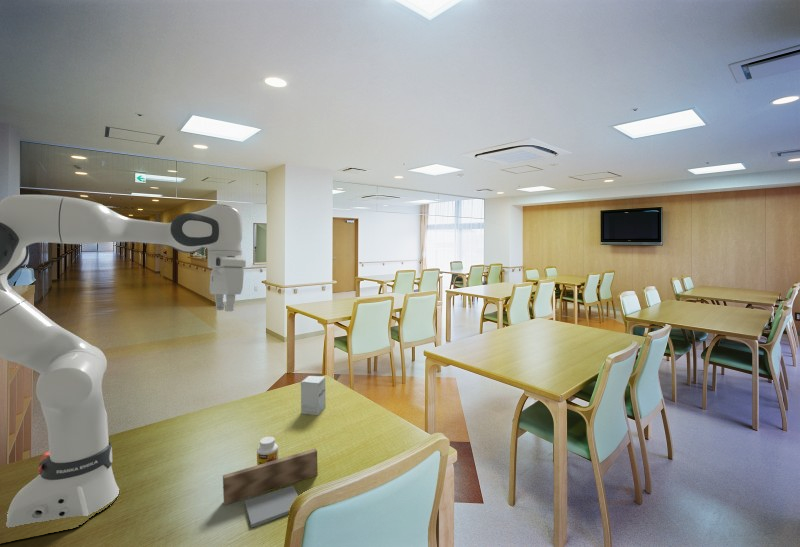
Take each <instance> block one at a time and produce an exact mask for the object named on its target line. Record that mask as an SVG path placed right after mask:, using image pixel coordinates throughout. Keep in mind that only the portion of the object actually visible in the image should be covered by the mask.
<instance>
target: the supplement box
mask: <svg viewBox="0 0 800 547" xmlns="http://www.w3.org/2000/svg"><path fill="white" fill-rule="evenodd" d="M326 398H327V397H326V376H318V375H316V376H315V375H308V376H306V377H305V378H304V379H303V380H302V381H300V412H301V414H303V415H314V416H319V415H320V414H321V412H322V411H323V410H324V409H325V408H326V406H327V405H326V402H327V401H326Z"/></svg>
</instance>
